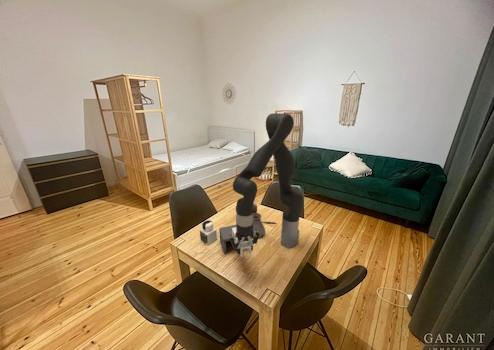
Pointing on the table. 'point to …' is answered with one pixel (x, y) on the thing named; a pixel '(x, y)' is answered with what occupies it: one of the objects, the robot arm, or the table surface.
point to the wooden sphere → (253, 208)
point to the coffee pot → (259, 224)
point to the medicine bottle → (208, 232)
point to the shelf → (225, 236)
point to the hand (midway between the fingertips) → (244, 252)
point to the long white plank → (244, 245)
